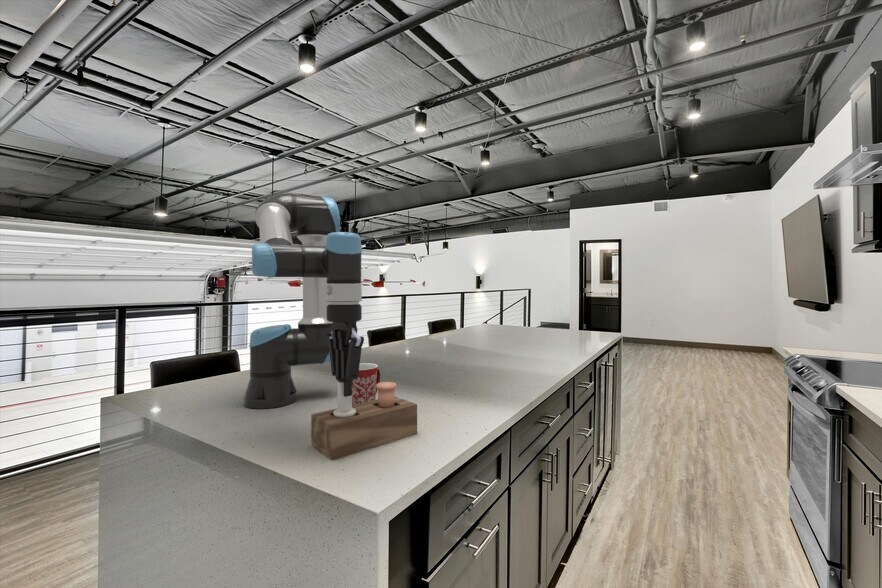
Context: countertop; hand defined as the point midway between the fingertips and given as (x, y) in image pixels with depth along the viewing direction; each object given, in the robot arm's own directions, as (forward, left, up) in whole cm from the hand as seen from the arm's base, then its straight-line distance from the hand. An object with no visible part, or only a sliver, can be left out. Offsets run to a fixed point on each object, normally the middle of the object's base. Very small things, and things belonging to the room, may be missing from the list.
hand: (344, 409), depth 86 cm
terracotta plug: (0, +11, -3) cm, 11 cm away
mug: (-17, +16, -8) cm, 24 cm away
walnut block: (0, +6, -8) cm, 10 cm away
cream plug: (0, 0, -7) cm, 7 cm away
